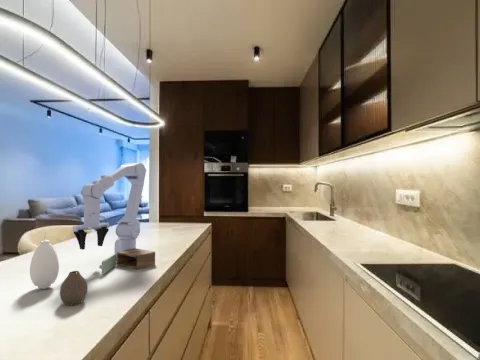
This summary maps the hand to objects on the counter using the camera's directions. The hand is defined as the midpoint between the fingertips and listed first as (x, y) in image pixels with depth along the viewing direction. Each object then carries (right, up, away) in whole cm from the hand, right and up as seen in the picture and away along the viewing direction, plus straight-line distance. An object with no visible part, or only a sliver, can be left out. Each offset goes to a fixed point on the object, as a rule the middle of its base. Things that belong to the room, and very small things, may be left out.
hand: (91, 247), depth 122 cm
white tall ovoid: (-4, -8, -24) cm, 25 cm away
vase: (+12, -8, -36) cm, 39 cm away
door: (+7, -8, -2) cm, 11 cm away
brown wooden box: (+16, -9, +6) cm, 19 cm away
